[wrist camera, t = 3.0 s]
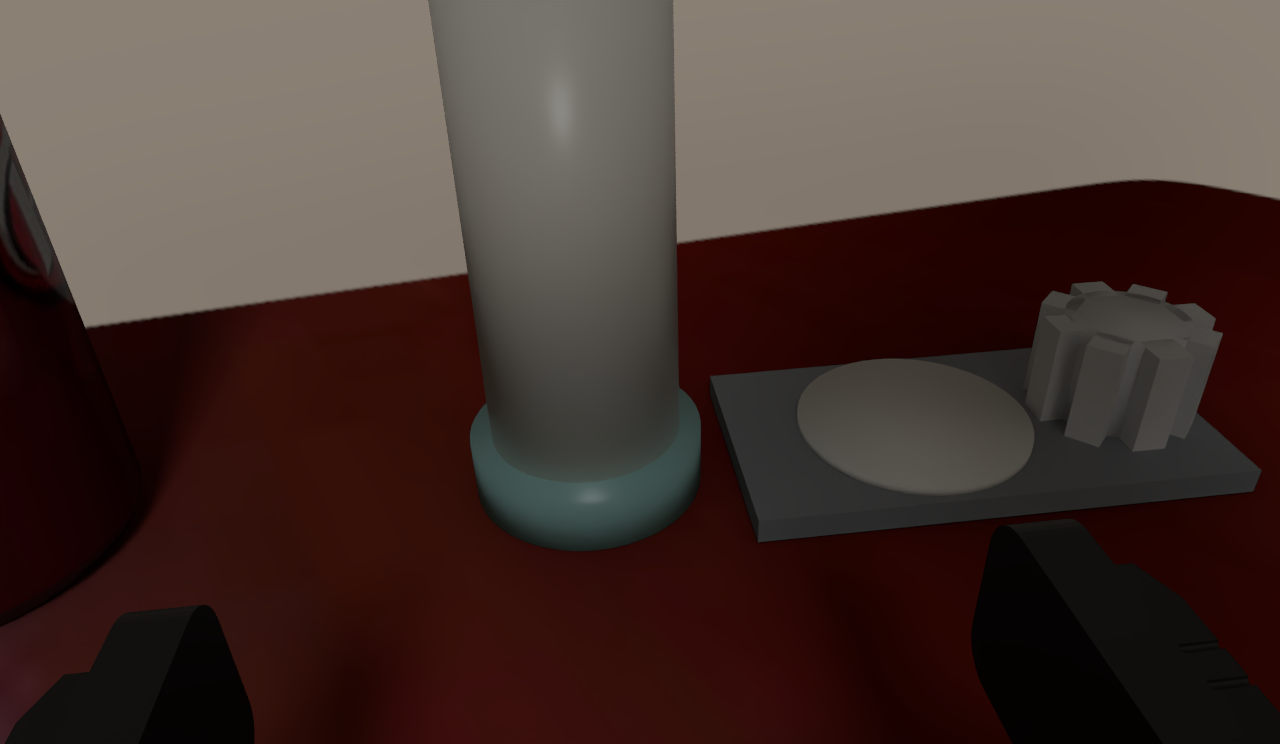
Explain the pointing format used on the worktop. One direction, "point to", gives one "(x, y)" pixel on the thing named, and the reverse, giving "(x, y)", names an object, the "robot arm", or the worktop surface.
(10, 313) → the soda can
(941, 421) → the carrier plate
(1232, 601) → the worktop surface
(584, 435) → the gray pillar
